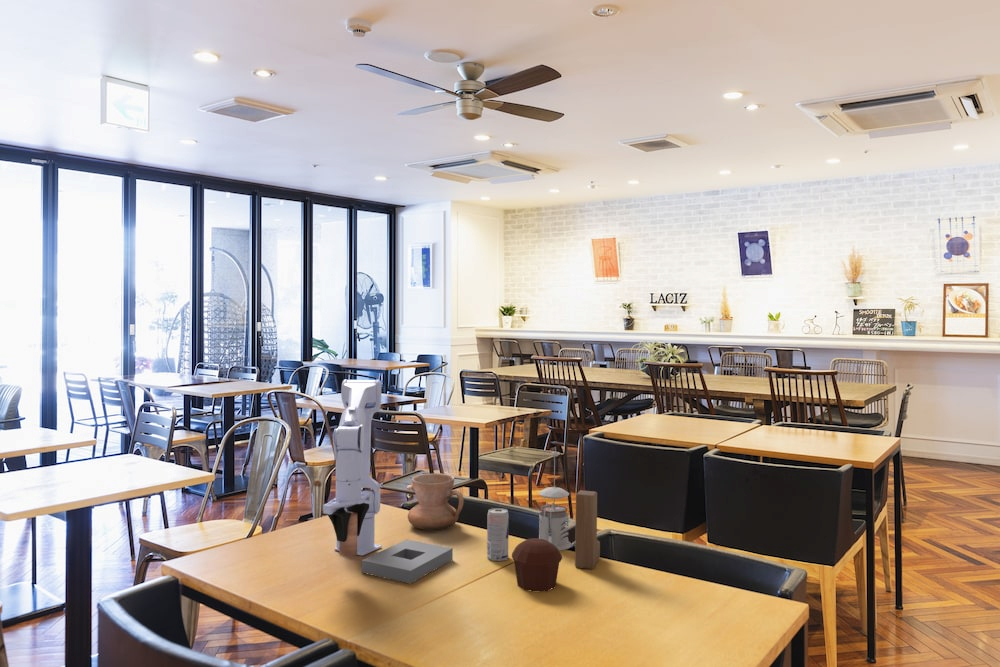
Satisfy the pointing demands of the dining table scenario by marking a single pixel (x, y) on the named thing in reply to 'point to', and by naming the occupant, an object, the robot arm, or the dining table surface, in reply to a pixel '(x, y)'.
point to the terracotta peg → (350, 538)
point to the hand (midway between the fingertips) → (348, 538)
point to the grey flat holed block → (407, 560)
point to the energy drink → (497, 534)
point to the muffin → (536, 564)
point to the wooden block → (586, 530)
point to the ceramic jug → (434, 502)
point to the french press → (554, 517)
